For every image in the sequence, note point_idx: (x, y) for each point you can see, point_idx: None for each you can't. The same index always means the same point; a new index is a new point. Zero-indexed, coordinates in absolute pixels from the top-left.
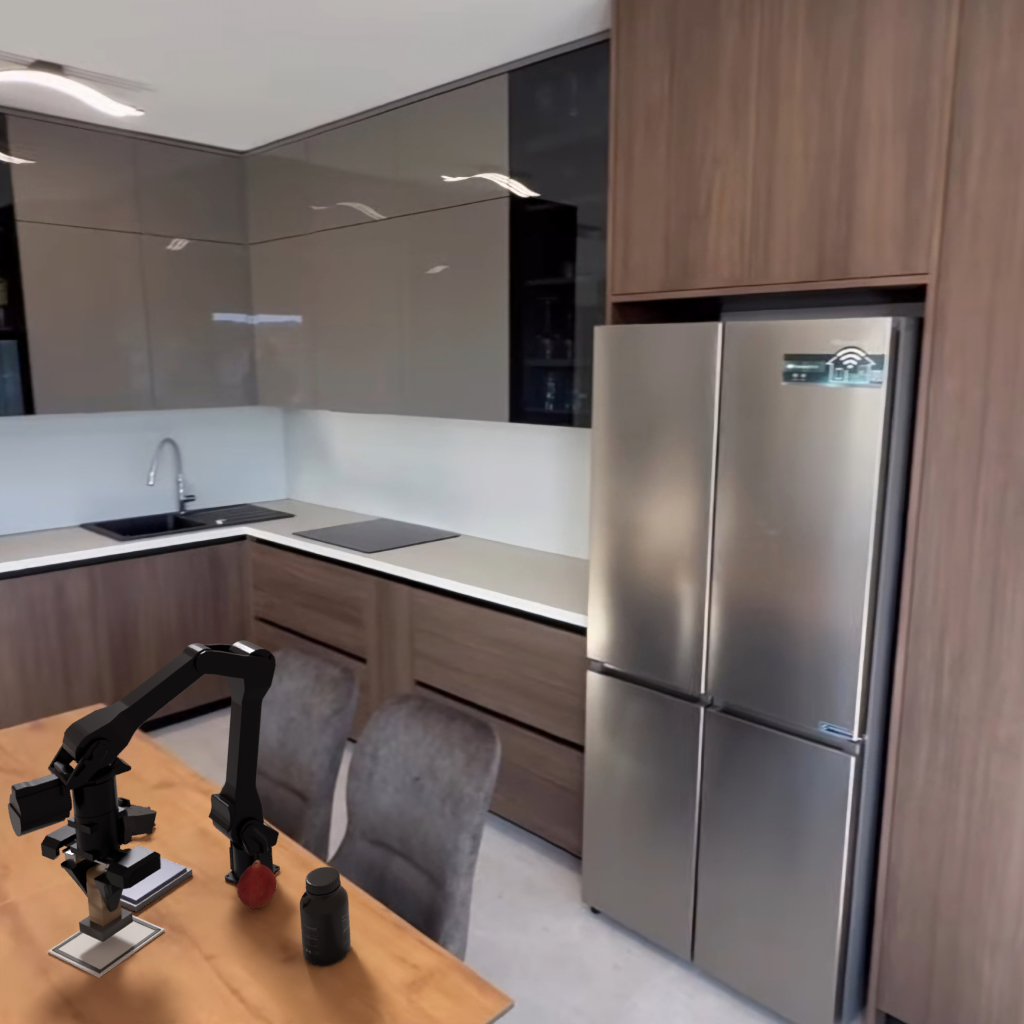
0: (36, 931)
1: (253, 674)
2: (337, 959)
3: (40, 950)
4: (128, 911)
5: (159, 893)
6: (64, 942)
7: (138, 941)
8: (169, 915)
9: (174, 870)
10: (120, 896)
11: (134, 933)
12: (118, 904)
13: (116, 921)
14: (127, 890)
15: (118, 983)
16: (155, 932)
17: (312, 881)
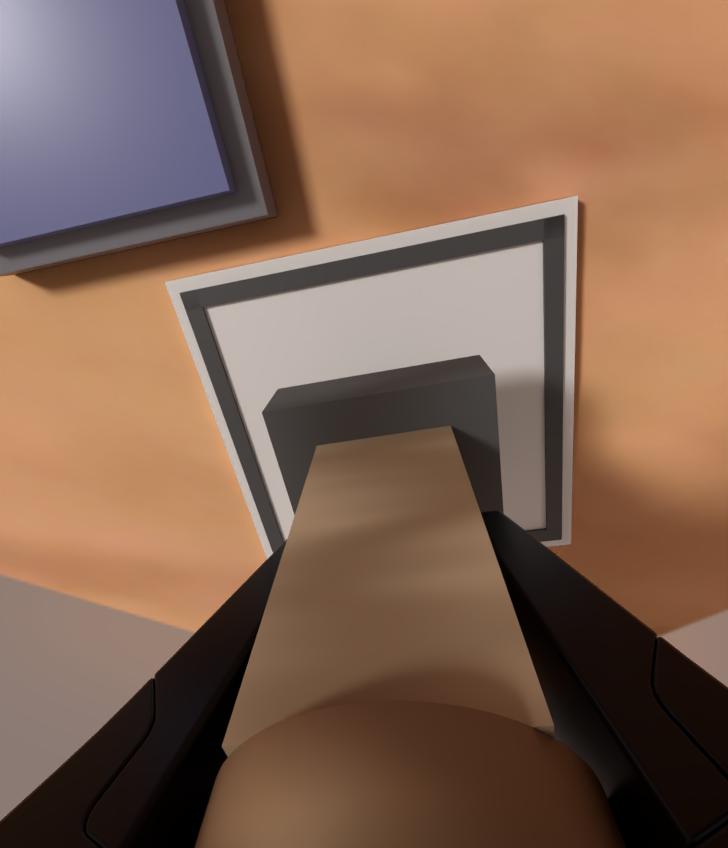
0: (113, 544)
1: None
2: None
3: (240, 577)
4: (459, 382)
5: None
6: (272, 533)
7: (534, 349)
8: (468, 79)
9: None
10: (569, 570)
11: (457, 328)
12: (518, 525)
13: (484, 474)
14: (77, 168)
15: (664, 514)
16: (561, 254)
17: None
